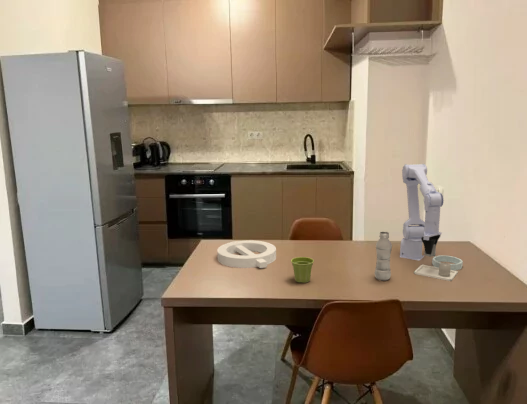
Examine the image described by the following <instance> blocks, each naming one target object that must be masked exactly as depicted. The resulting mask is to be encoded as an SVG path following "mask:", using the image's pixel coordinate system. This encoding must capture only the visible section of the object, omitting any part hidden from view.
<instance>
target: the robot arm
mask: <svg viewBox="0 0 527 404" xmlns="http://www.w3.org/2000/svg"><path fill="white" fill-rule="evenodd" d="M401 172H402V174H401V175H402V176H401V177H402V182H403V184H405V185H406V194H407V196H406V197H407V207H408V208H407V209H408V218H407V220H405V221H404V222H403V224H402V235H403V236H402V239H401V241H400V250H399V258H403V259H409V260H413V261H414V260H415V261H421V260H422V259H423V258H424V257H425V255H424V254H423V246H424V252H425V253H426V254H430V255H431V253H432V249H433V245H434V244H436V245H437V243H438V241H439V239H440V238H441V235H442V233H443V232H441V231H439V230H440V220H441V207H443V205H444V201H445V200H444V195H443V193H442V192H439V191H437V189H436V187H435V185H434V184H433V183H432V182H431V181H429V179H428V176H427V174H428V166H427V165H426V164H425V163H420V164H419V163H418V164H417V163H416V164H413V163H412V164H407V163H404V165H403V166H402V170H401ZM418 185H419V188H418ZM418 189H419V190H420V192H421V194H422V196H423V205H424V208H423V209H424V211H425V214H424V220H423V219H421V217H420V216H421V214H420V213H421V212H420V201H419V190H418ZM422 254H423V255H422Z"/></svg>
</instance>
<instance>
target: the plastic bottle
mask: <svg viewBox="0 0 527 404" xmlns="http://www.w3.org/2000/svg"><path fill="white" fill-rule="evenodd" d="M389 238H390V232H388V231H380V232H379V239H378V240H377V241H376V244H375V250H376V265H375V270H374V277H375V279H376V280H378V281H381V282H382V281H383V282H384V281H385V282H386V281H389V279H390V278H391V275H392V271H391V253H392V247H393V245H392V242H391V241H390V239H389Z"/></svg>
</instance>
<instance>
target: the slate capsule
mask: <svg viewBox="0 0 527 404" xmlns="http://www.w3.org/2000/svg"><path fill="white" fill-rule="evenodd" d="M423 252H424V253H423V256H424V257H425V256H426V257H432V258H433V257H434V256H436V252H437V244H434V245H433V249H432V253H431V255H430V254H426V253H425V251H423Z"/></svg>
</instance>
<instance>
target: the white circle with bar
mask: <svg viewBox="0 0 527 404" xmlns="http://www.w3.org/2000/svg"><path fill="white" fill-rule="evenodd" d="M276 247H277V246H275V244H272V243H270V242H268V241H263V240H262V241H261V240H255V239H254V240H253V239H249V240H246V239H245V240H237V241H236V240H234V241H229V242H226V243H224V244H221V245H220V246H218V247H217V249H216V251H217V261H218V262H219V264H221V265H223V266H225V267H231V268H239V269H252V268H260V269H264V268H268V265H270V264H271V263H274V262H275V261H276V259H277V248H276ZM254 252H256V253H258V254H256V253H254ZM237 253H238V254H237ZM239 254H240V255H239Z"/></svg>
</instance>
